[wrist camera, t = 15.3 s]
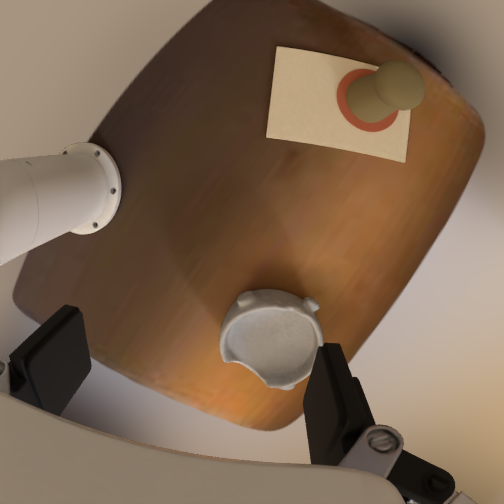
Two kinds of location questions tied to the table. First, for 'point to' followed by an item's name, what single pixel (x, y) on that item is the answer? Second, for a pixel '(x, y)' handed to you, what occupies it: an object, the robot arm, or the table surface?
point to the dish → (272, 336)
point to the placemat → (329, 106)
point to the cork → (385, 91)
